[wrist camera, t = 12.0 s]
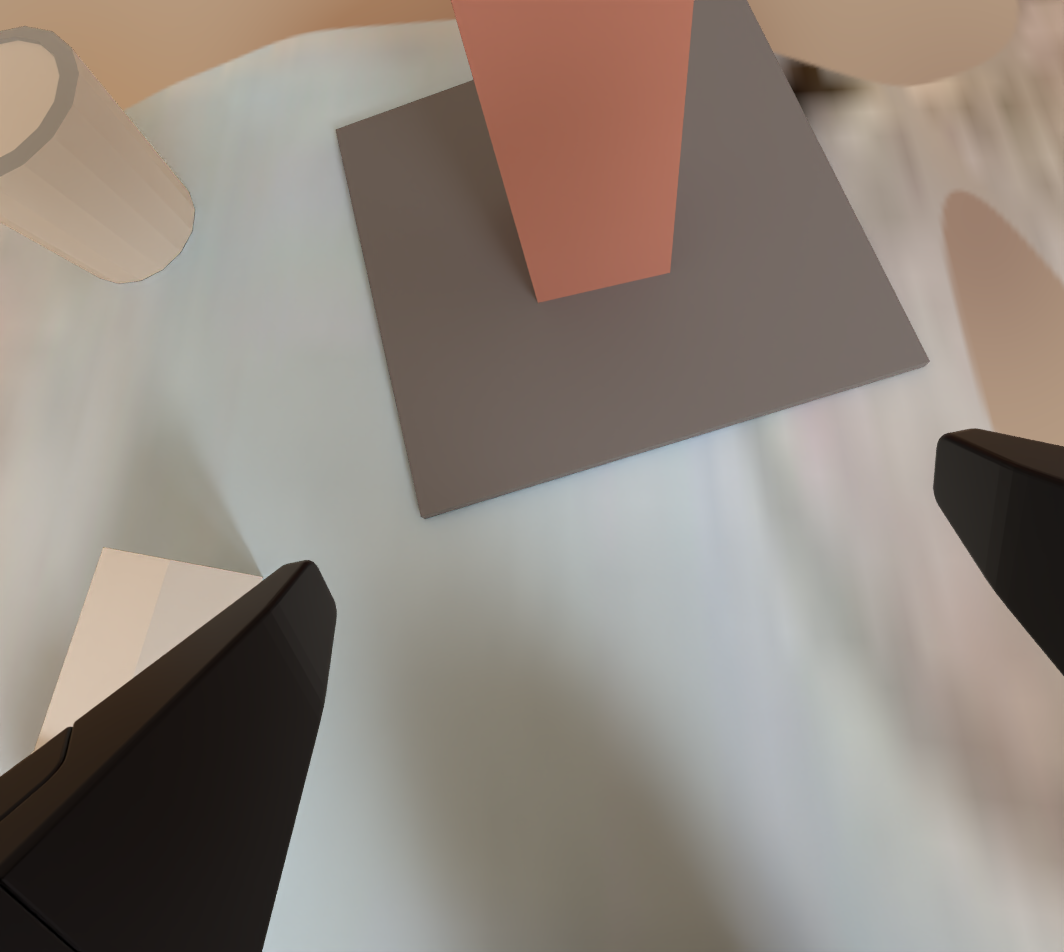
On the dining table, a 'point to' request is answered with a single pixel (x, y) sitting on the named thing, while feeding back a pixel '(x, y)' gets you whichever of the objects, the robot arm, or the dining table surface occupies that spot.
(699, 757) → the dining table surface
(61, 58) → the shot glass
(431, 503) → the mat
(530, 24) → the card box
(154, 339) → the dining table surface
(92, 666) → the napkin holder
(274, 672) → the robot arm
